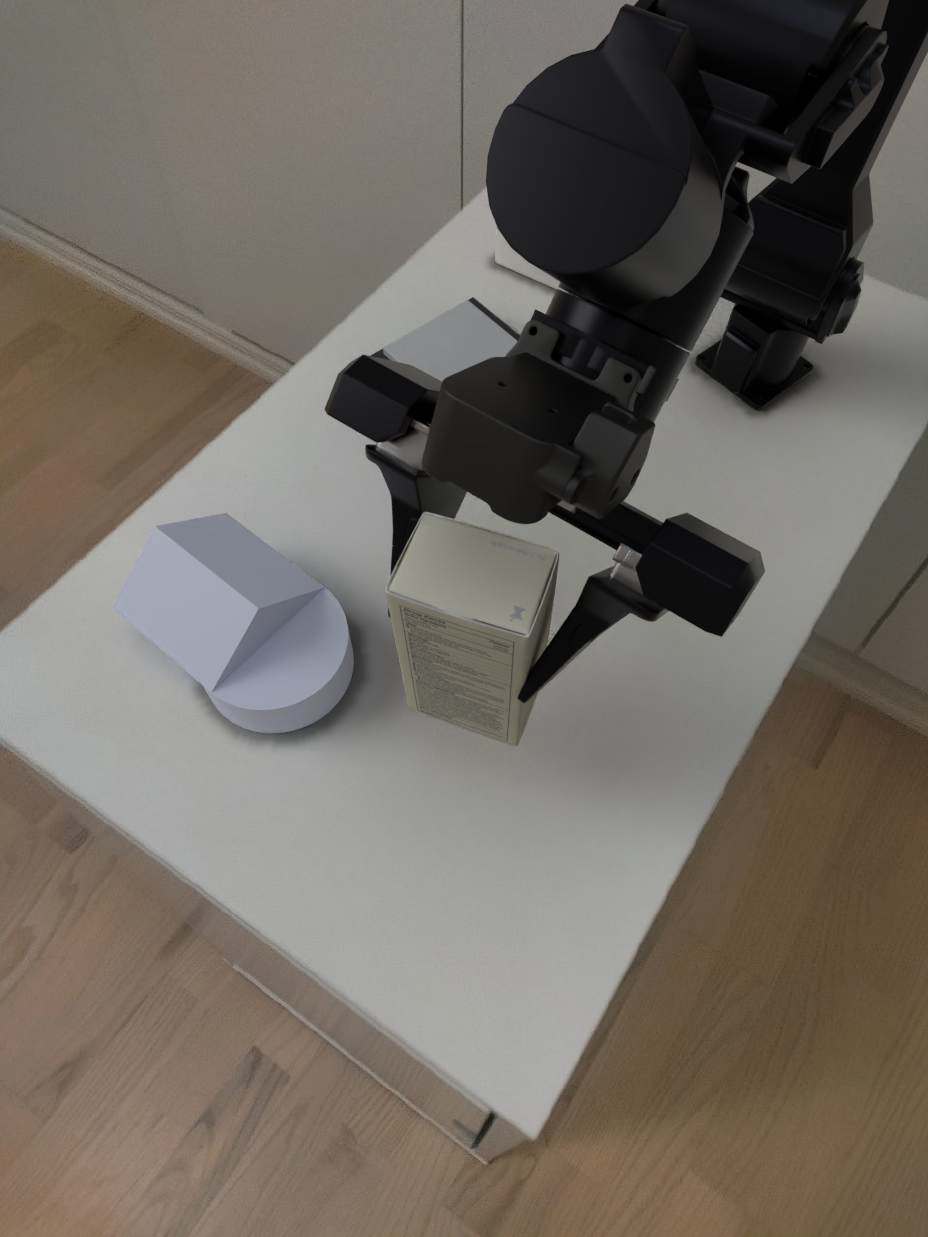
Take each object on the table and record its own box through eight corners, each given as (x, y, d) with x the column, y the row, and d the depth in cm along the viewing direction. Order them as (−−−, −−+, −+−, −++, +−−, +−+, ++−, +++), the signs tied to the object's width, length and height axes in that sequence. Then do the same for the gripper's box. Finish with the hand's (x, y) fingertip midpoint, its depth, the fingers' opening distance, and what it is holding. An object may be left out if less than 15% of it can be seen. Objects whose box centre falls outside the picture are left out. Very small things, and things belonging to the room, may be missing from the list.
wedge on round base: (130, 635, 54) (278, 763, 50) (91, 577, 48) (255, 716, 44) (237, 543, 57) (384, 656, 53) (213, 478, 52) (376, 599, 48)
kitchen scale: (472, 319, 68) (473, 289, 66) (550, 384, 65) (554, 356, 62) (348, 391, 64) (344, 362, 62) (425, 464, 61) (424, 437, 58)
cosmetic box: (544, 677, 46) (569, 549, 35) (516, 753, 44) (534, 641, 33) (432, 639, 47) (424, 504, 36) (400, 711, 45) (381, 590, 34)
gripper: (321, 169, 29) (179, 575, 34) (848, 419, 24) (585, 852, 29) (459, 245, 39) (333, 549, 44) (851, 432, 34) (655, 752, 39)
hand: (457, 657), depth 39 cm, fingers closed on cosmetic box, 7 cm apart
